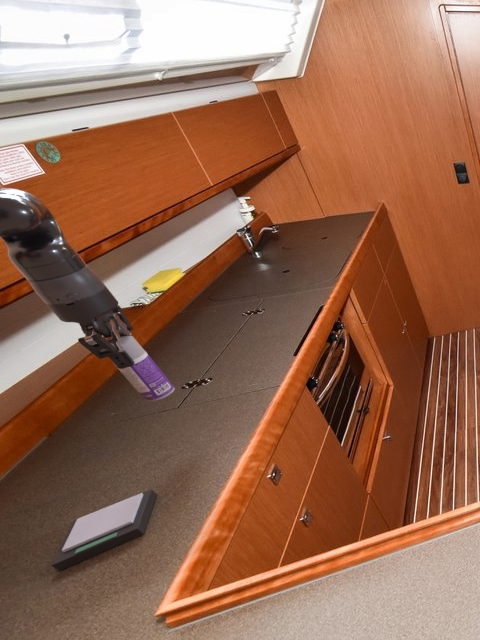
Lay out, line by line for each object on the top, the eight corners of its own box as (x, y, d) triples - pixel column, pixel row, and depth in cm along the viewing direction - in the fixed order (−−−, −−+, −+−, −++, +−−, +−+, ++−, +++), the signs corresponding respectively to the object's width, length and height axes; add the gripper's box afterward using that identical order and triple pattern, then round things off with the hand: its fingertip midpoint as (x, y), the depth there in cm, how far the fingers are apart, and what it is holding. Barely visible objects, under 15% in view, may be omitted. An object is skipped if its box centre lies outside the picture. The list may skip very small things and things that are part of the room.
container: (175, 383, 95) (134, 332, 87) (175, 393, 92) (133, 342, 84) (146, 394, 92) (101, 342, 84) (145, 405, 89) (98, 352, 81)
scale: (59, 571, 74) (48, 564, 73) (81, 526, 81) (71, 518, 80) (144, 534, 79) (135, 526, 78) (158, 494, 86) (149, 487, 85)
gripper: (60, 283, 81) (116, 349, 90) (26, 316, 71) (93, 386, 80) (115, 272, 85) (163, 336, 94) (90, 302, 75) (147, 371, 83)
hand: (131, 359), depth 87 cm, fingers closed on container, 4 cm apart
